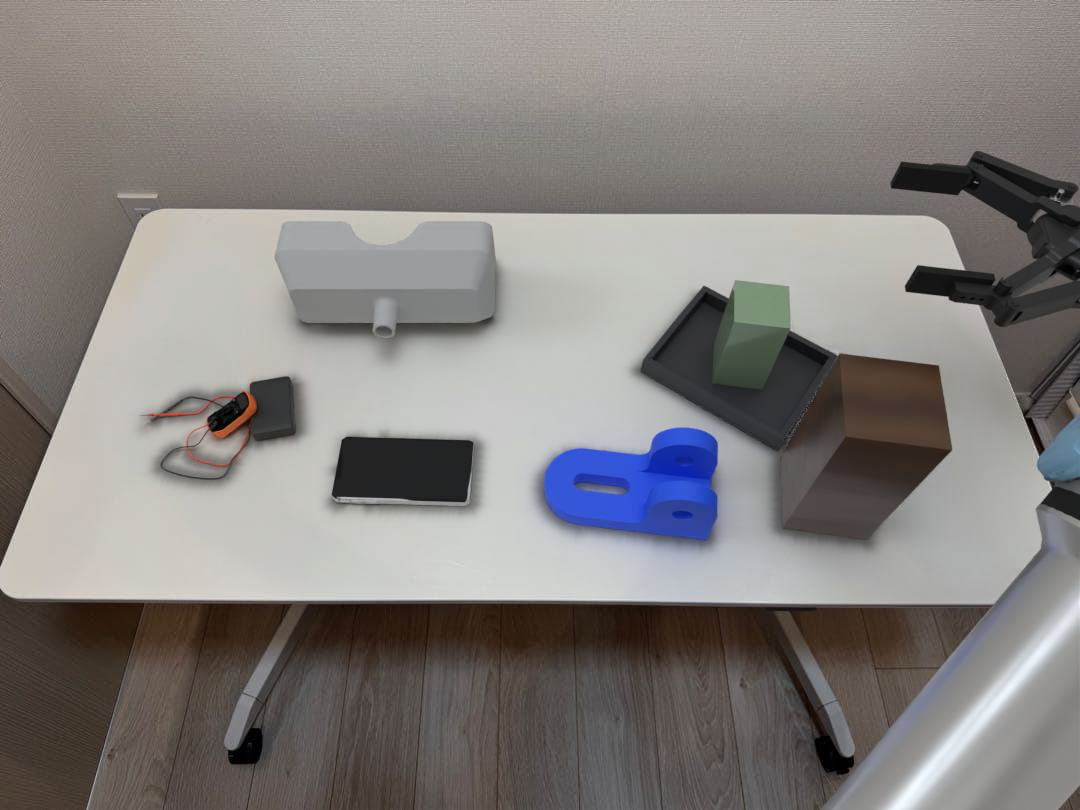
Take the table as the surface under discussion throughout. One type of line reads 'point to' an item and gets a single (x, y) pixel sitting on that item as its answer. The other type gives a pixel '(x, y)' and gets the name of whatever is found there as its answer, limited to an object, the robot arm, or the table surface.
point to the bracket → (641, 486)
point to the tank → (389, 274)
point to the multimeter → (249, 414)
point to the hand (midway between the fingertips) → (902, 224)
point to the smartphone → (404, 471)
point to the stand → (863, 445)
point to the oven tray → (756, 412)
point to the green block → (751, 334)
